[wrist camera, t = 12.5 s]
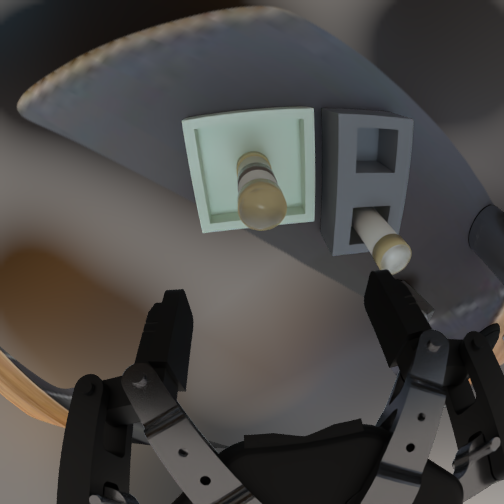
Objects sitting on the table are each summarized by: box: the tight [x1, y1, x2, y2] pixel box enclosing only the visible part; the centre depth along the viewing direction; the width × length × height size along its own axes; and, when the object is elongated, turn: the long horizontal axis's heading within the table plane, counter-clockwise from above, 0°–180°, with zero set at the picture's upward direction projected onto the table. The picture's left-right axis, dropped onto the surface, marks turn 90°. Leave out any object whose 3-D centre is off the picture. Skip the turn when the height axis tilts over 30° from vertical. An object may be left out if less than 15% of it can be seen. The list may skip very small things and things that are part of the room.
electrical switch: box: [401, 280, 434, 323], centre depth 37 cm, size 9×5×9 cm, turn 6°
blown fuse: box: [236, 151, 287, 231], centre depth 23 cm, size 3×3×10 cm
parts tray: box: [182, 106, 315, 233], centre depth 26 cm, size 12×12×2 cm
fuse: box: [351, 207, 411, 274], centre depth 26 cm, size 3×3×10 cm
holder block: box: [320, 108, 414, 256], centre depth 26 cm, size 8×15×5 cm, turn 5°
